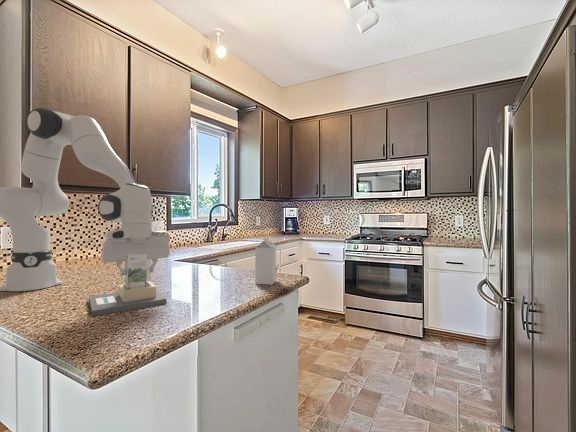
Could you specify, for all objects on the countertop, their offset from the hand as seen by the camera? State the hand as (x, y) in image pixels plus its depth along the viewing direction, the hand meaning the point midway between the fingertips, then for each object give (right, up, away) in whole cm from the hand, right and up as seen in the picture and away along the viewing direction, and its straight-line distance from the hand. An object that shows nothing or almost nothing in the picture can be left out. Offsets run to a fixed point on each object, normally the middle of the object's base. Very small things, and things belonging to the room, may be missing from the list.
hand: (137, 273), depth 98 cm
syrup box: (0, -8, 0) cm, 8 cm away
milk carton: (+41, -9, +25) cm, 49 cm away
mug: (-8, -9, +15) cm, 20 cm away
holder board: (-2, -9, -2) cm, 10 cm away
